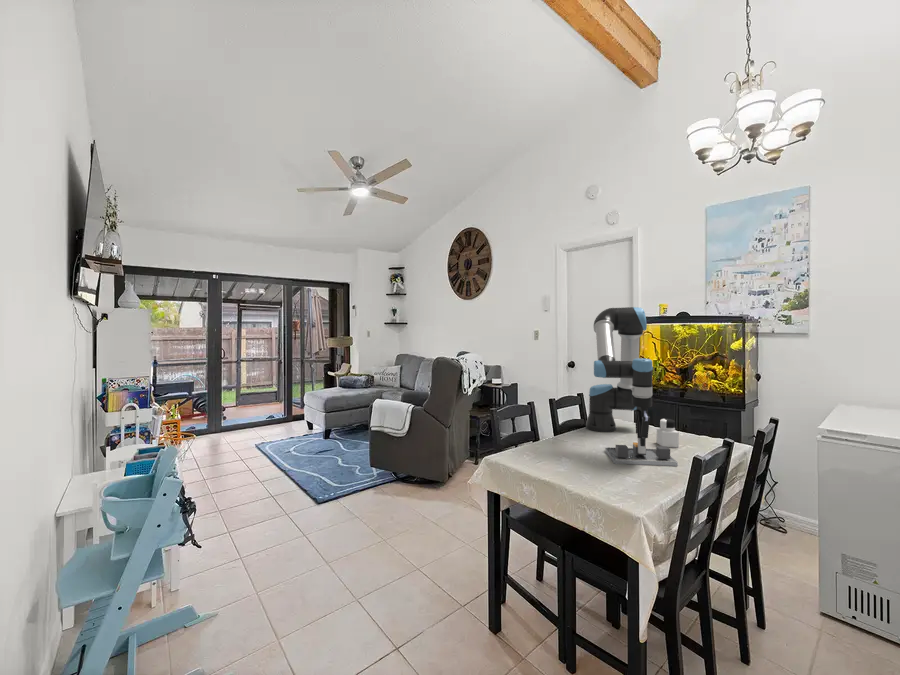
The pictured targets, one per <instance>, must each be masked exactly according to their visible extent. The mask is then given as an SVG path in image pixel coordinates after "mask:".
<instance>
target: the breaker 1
mask: <svg viewBox="0 0 900 675" xmlns="http://www.w3.org/2000/svg"><path fill="white" fill-rule="evenodd" d="M615 448H616V455H617V457H623V458H628V448H629V446H627V445H626V444H615Z"/></svg>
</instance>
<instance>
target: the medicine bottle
mask: <svg viewBox="0 0 900 675" xmlns="http://www.w3.org/2000/svg"><path fill="white" fill-rule="evenodd" d="M655 440H656V444H658V446H667V447H668V448H679V447H680V446H679V444H680V443H679V442H680V432H679V431H677V430H676V421H675V420H674V419H671V418H661V419H660V422H659V427H656V439H655Z"/></svg>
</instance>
